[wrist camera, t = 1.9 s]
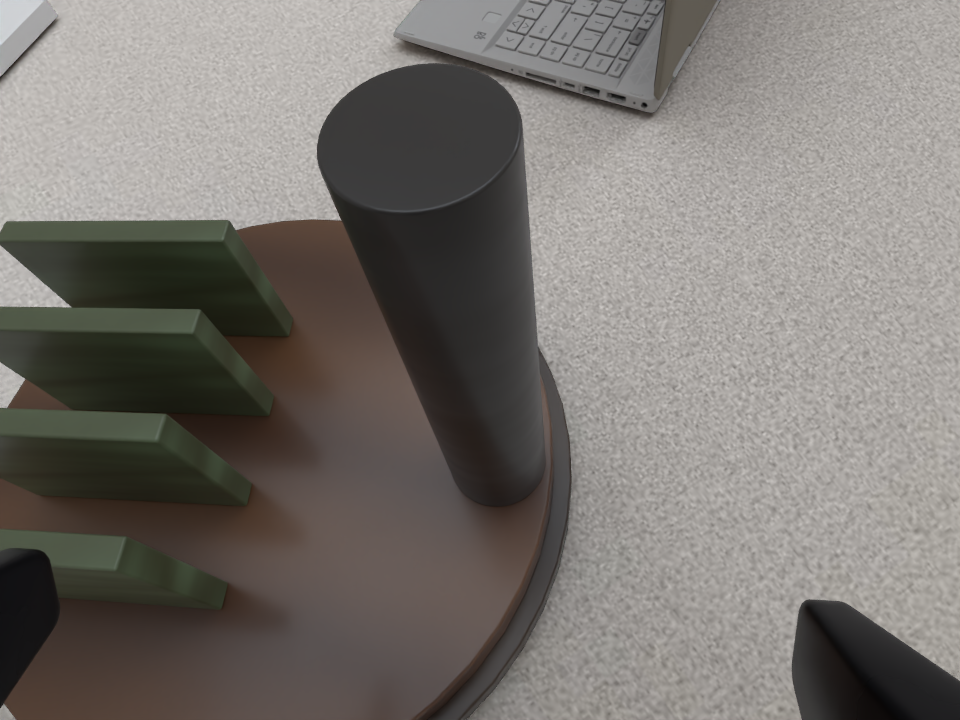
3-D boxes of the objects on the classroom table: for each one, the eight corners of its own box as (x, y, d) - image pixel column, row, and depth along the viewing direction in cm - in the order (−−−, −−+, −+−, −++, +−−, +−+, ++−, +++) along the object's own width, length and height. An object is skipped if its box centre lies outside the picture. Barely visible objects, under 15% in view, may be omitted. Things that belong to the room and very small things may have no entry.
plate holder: (541, 836, 16) (481, 1096, 4) (-114, 761, 18) (-1264, 805, 7) (561, 239, 24) (559, -213, 12) (107, 240, 26) (-246, -141, 15)
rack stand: (563, 858, 16) (563, 865, 15) (-104, 779, 19) (-137, 781, 18) (576, 247, 25) (576, 230, 24) (115, 248, 27) (101, 231, 26)
